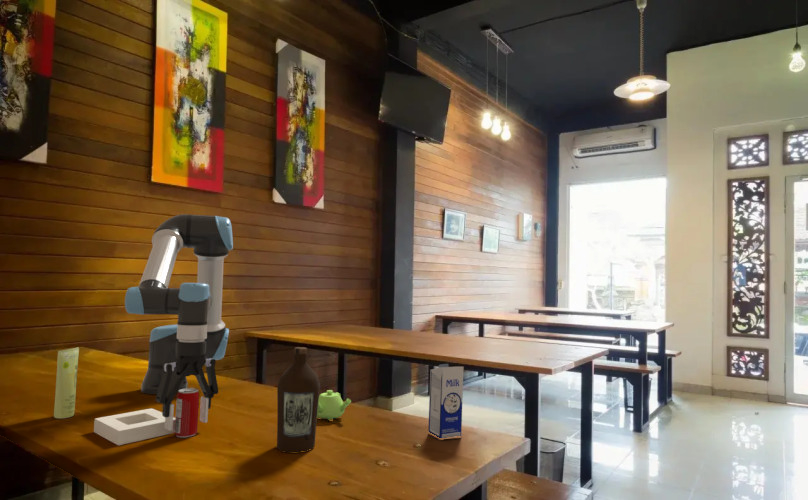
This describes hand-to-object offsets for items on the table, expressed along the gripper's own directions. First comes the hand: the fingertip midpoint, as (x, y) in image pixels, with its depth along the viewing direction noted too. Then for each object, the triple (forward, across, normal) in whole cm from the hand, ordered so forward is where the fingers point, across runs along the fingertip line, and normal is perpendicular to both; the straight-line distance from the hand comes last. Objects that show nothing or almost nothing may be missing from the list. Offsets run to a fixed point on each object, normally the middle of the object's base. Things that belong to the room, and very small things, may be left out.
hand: (186, 425), depth 134 cm
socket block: (+2, +8, -11) cm, 14 cm away
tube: (+3, +16, -39) cm, 42 cm away
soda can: (+3, 0, 0) cm, 3 cm away
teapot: (+3, -37, +15) cm, 40 cm away
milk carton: (+3, -49, +50) cm, 70 cm away
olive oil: (+3, -14, +28) cm, 31 cm away
